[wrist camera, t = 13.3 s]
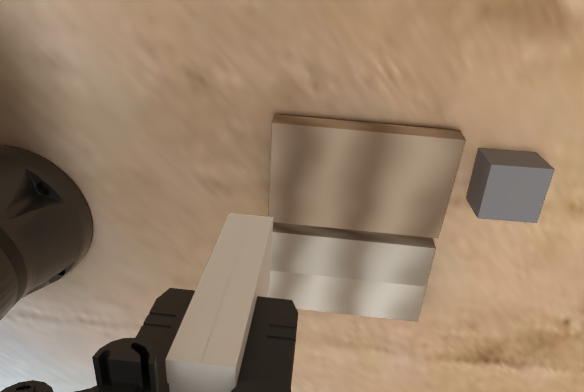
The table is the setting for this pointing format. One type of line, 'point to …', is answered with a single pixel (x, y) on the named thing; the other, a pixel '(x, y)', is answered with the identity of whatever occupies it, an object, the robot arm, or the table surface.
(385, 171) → the board
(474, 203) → the block
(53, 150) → the table surface
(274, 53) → the table surface
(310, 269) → the laid floor rows
